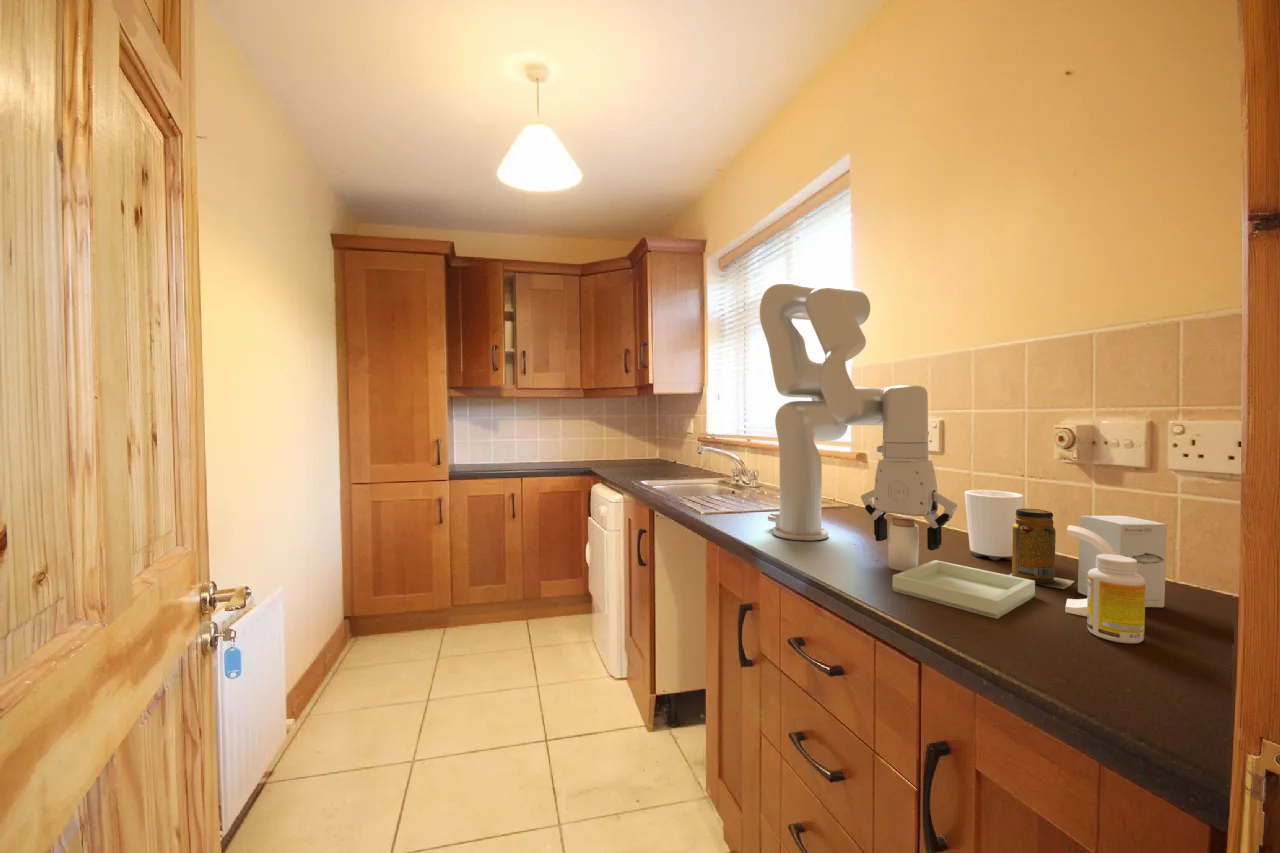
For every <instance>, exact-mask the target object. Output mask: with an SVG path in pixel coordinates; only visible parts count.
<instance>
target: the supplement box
mask: <svg viewBox="0 0 1280 853" xmlns="http://www.w3.org/2000/svg"><path fill="white" fill-rule="evenodd" d="M1079 527H1081V528H1084V529H1087V530H1089V531H1091V532H1093V533H1095V534H1097V535H1099V536H1100V537H1101V538H1103V539H1104V540H1105V541H1106V542H1107V543H1108V544H1109V545H1110V546H1111V547H1112V548H1113V549H1114V551H1115V552H1116V554H1117V555H1120V556H1126V557H1130V558H1133V559H1135V560H1137V573H1136V574H1139V575H1140V576H1142V577H1143V578H1144V579H1145V608H1164V607H1165V598H1166V597H1165V596H1166V594H1165V593H1166V570H1167V568H1166V567H1167V566H1166V565H1167V563H1166V562H1167V540H1168V539H1167V536H1168V534H1167V531H1168V528H1167V527H1168V524H1167V523H1163V522H1158V521H1154V520H1147V519H1143V518H1139V517H1132V516H1127V515H1080V516H1079ZM1078 539H1079V538H1078ZM1078 541H1079V542H1078V569H1077V570H1078V572H1077V592H1078V593H1079V594H1081V595H1083V596H1086V597H1087V596H1088V572H1089V570H1091V569H1093V568H1097V567H1096V556H1097V555H1099V554H1103V553H1102V552H1101V551H1100V550H1099V549H1098V548H1096V547H1095V546H1094V545H1092V544H1090V543H1089V542H1087V541H1084V540H1082V539H1079V540H1078Z"/></svg>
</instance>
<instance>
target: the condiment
mask: <svg viewBox="0 0 1280 853" xmlns="http://www.w3.org/2000/svg"><path fill="white" fill-rule="evenodd" d="M1053 517H1054V514H1053V512H1051V511H1049V510H1046V509H1045V510H1044V509H1037V508H1036V509H1035V508H1022V509H1017V510H1016V518H1015V520H1016V523H1015V524H1014V525H1013V547H1012V548H1013V549H1012V560H1011V571H1012V572H1011V573H1010V574H1008V575H1010V576H1014V577H1019V578H1024V579H1029V580H1034V581H1035V585H1040V586H1045V587H1049V588H1056V589H1062V590H1065V589H1067V588H1069V587H1070V586H1072V584H1074V583H1075V582H1076V581H1075V580H1071V579H1065V578H1061V577H1056V540H1057V539H1056V537H1057V536H1056V534H1057V533H1056V531H1057V530H1056V528H1055V527H1054V519H1053Z"/></svg>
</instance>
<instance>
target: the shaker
mask: <svg viewBox="0 0 1280 853" xmlns="http://www.w3.org/2000/svg"><path fill="white" fill-rule="evenodd" d="M891 521H892V522H889V523H888V567H889V568H890V569H892V570H895V571H898V572H899V571H900V572H904V571H906V570H909V569H912V568H915V567H917V566H919V544H920V543H919V540H920V539H919V535H920V534H919V533H920V532H919V531H920V530H919V529H920V527H919V525H918V524H917V523H916V519H915V518H913V517H909V516H893V517H892V520H891Z"/></svg>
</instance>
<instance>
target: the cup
mask: <svg viewBox="0 0 1280 853" xmlns="http://www.w3.org/2000/svg"><path fill="white" fill-rule="evenodd" d="M1023 501H1024V495H1023V494H1021V493H1017V492H1013V491H1012V492H1011V491H1005V490H1004V491H1002V490H992V489H972V490H965V491H964V502H965V510H966V511H965V513H966V521H967V524H966V525H967V532H968V533H967V535H968V541H969V542H968V544H969V550H970V551H971V553H972V554H973V556H974V557H976V558H983V557H985V556H986V557H988V558H989V559H990V560H992V561H1000V559H1003V560H1006V561H1012V549H1013V548H1012V547H1013V525H1014V524H1015V523H1016V520H1015V518H1016V510H1017V509H1023V508H1022V507H1023Z"/></svg>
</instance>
